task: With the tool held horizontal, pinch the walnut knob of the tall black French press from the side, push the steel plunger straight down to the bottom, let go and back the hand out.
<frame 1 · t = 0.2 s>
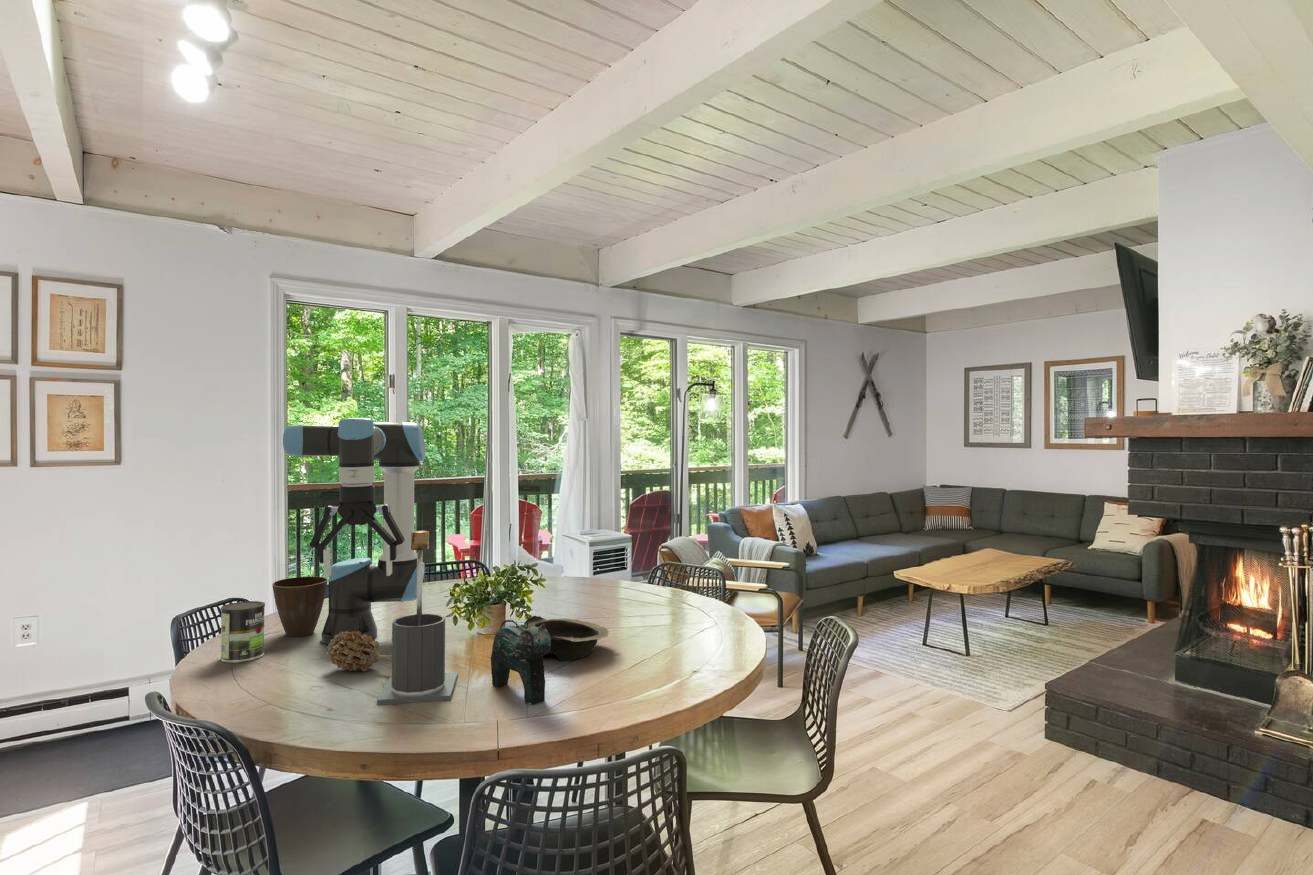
hand: (358, 575, 159), 28 cm above the table, tool pointing down, fingers open, 13 cm apart
press: (418, 691, 162), on the table
coffee can: (242, 657, 186), on the table
pine cone: (368, 671, 176), on the table
stone bowl: (565, 653, 193), on the table
plunger: (419, 587, 162), point 25 cm above the table, slide at 9.0 cm
dark animal figurine: (517, 694, 162), on the table
plant pot: (299, 634, 209), on the table
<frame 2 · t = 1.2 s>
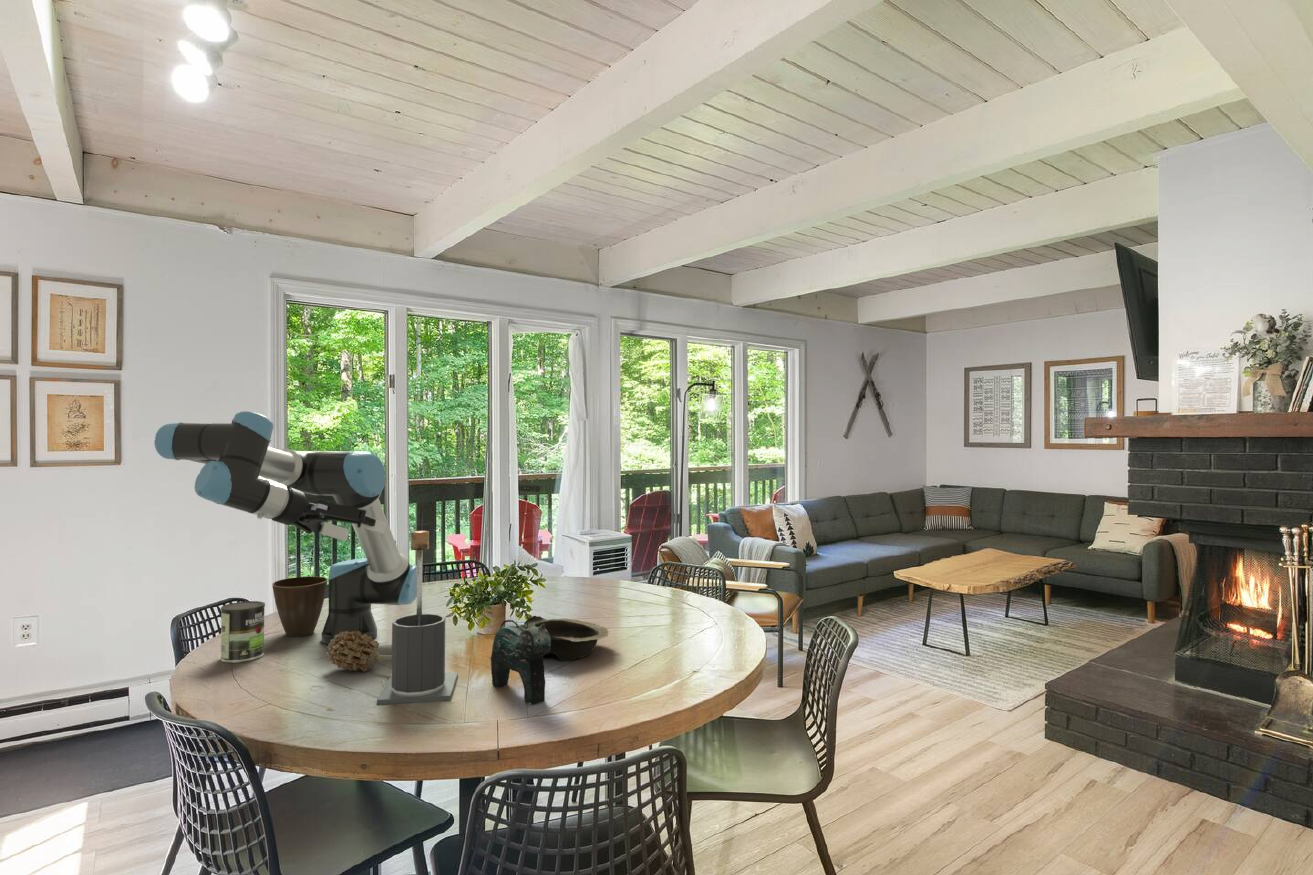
hand: (365, 531, 159), 38 cm above the table, tool tilted 65°, fingers open, 13 cm apart
nothing on the table moved.
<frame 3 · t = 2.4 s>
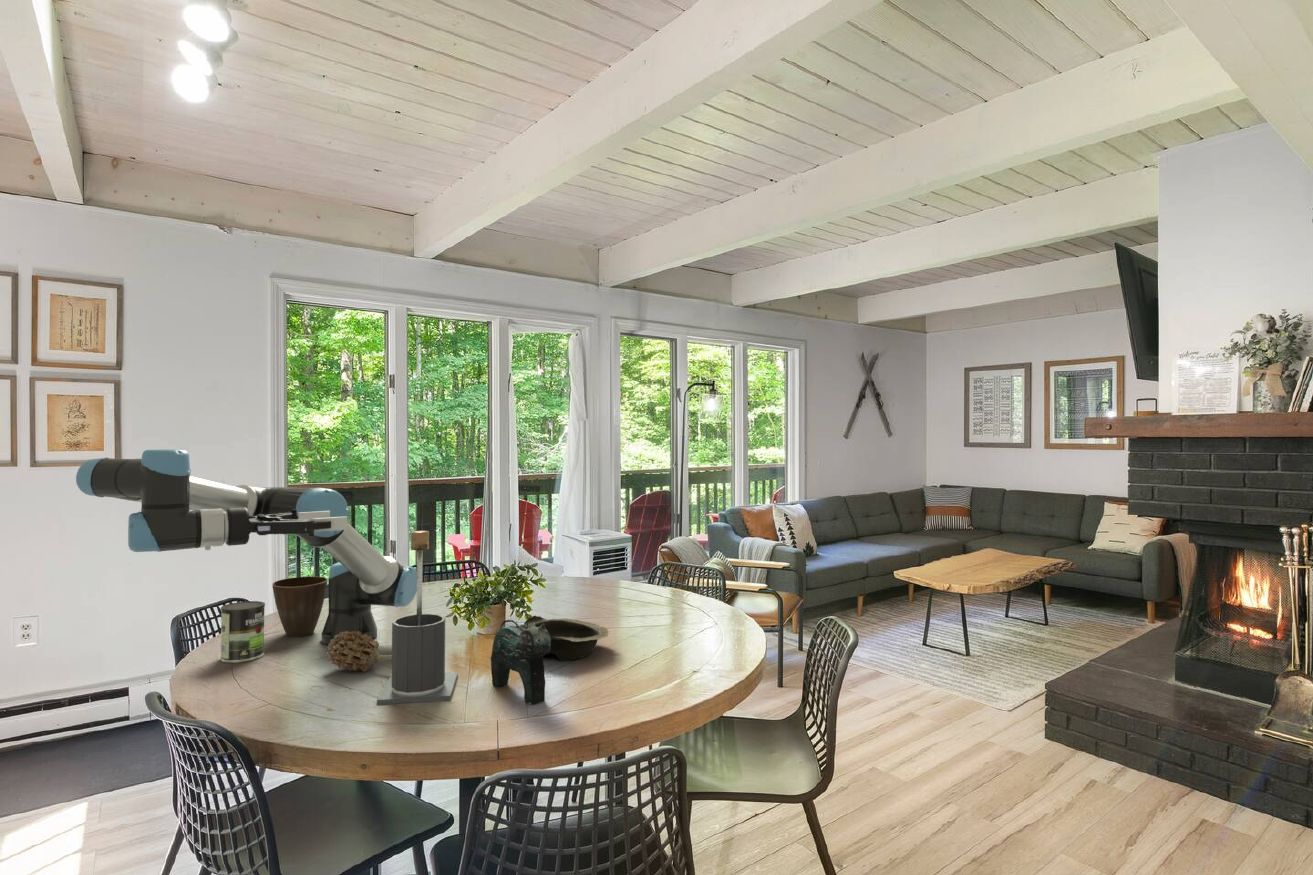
hand: (337, 519, 151), 42 cm above the table, tool horizontal, fingers open, 13 cm apart
nothing on the table moved.
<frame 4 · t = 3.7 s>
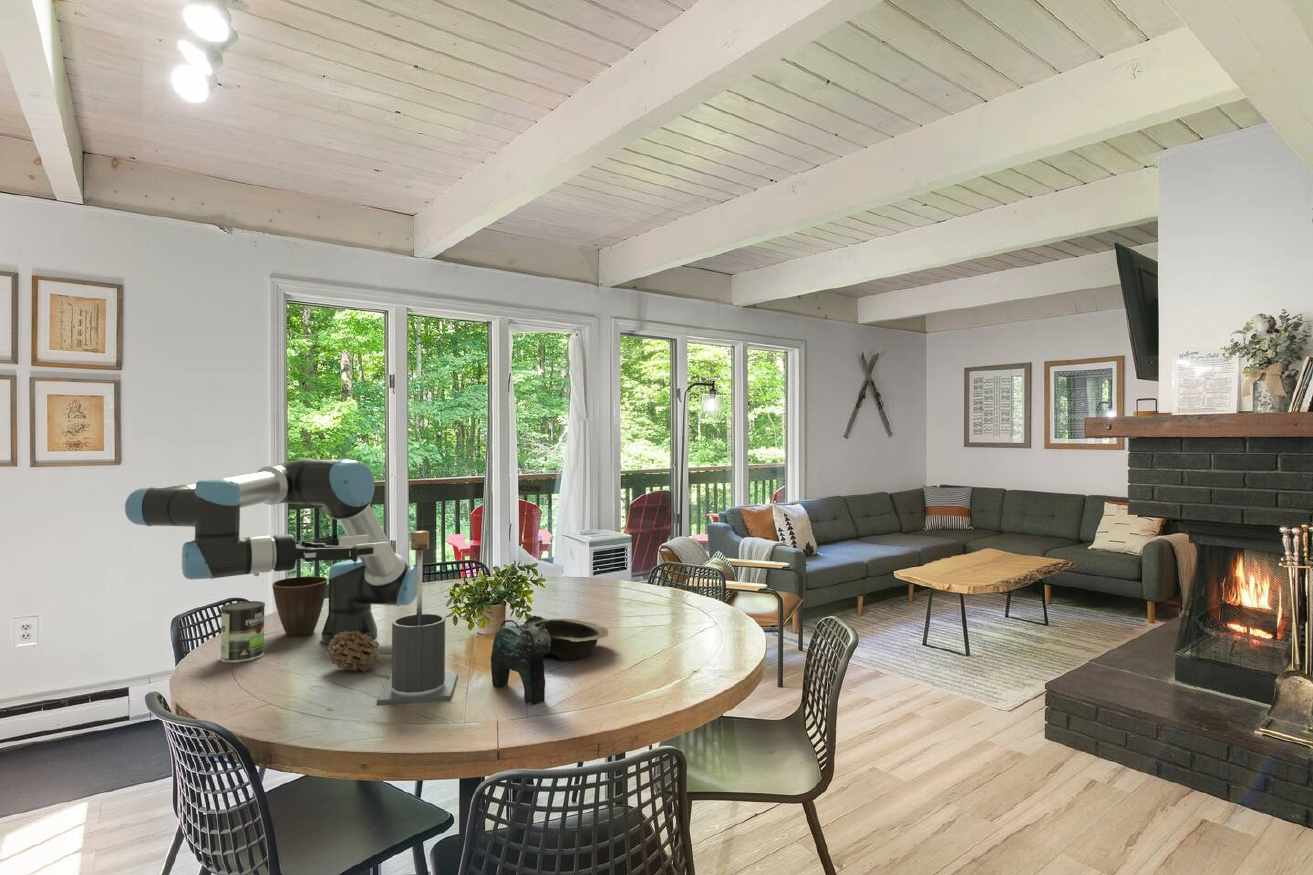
hand: (377, 544, 156), 36 cm above the table, tool horizontal, fingers open, 13 cm apart
nothing on the table moved.
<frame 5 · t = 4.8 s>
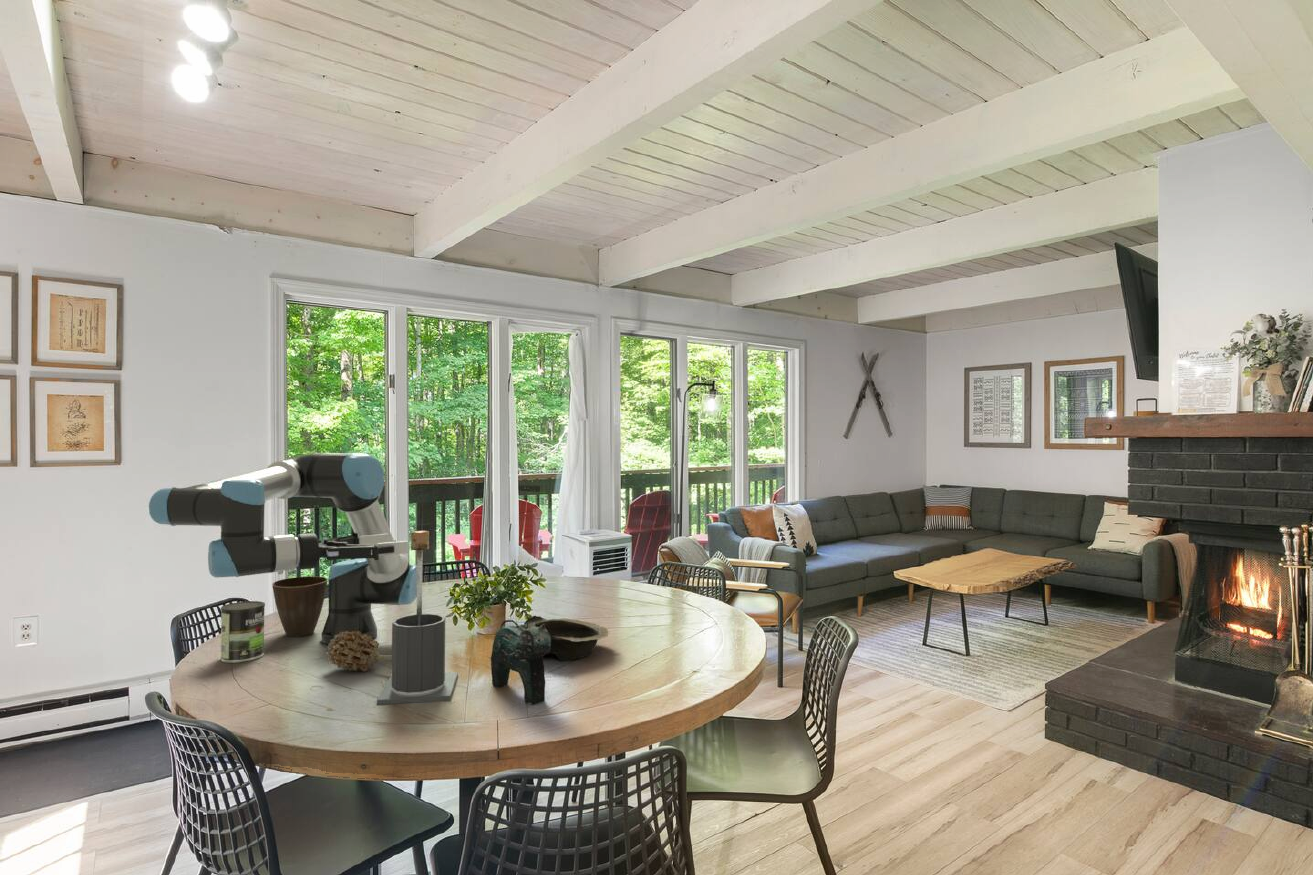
hand: (397, 543, 158), 36 cm above the table, tool horizontal, fingers open, 13 cm apart
nothing on the table moved.
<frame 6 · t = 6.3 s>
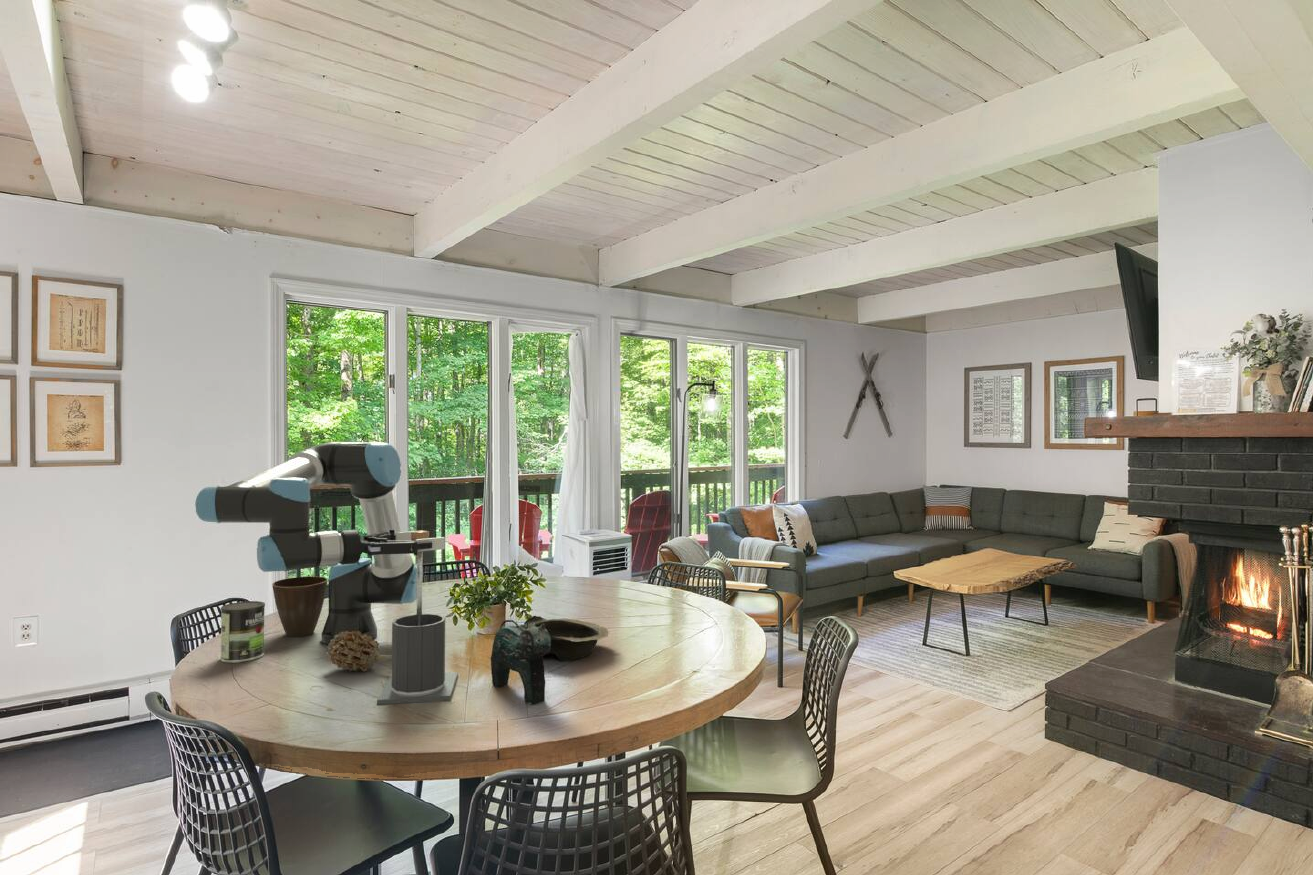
hand: (433, 539, 164), 36 cm above the table, tool horizontal, fingers open, 13 cm apart
nothing on the table moved.
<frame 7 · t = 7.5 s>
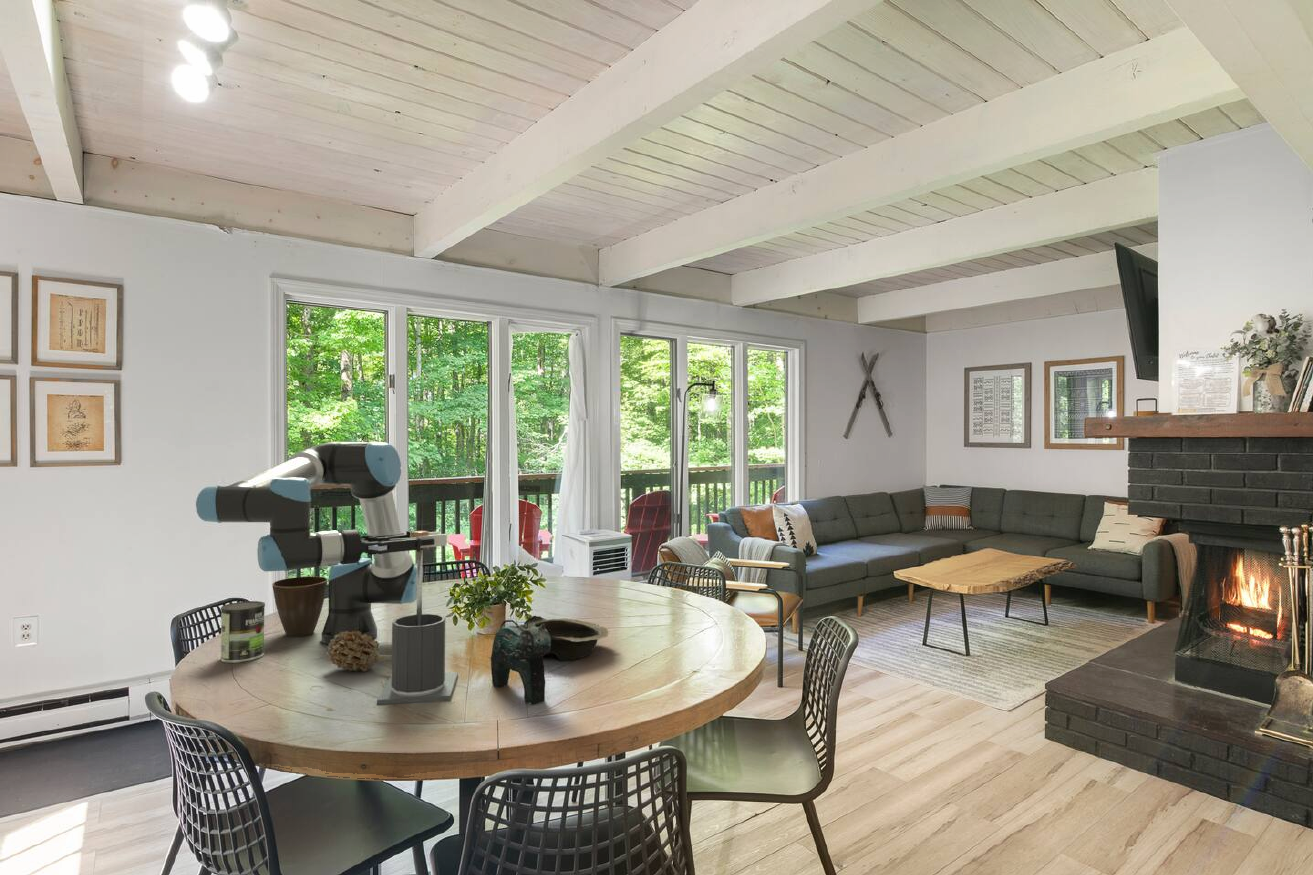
hand: (441, 538, 166), 36 cm above the table, tool horizontal, fingers closed on plunger, 4 cm apart
plunger: (419, 588, 162), point 25 cm above the table, slide at 9.0 cm, touching gripper
everything else where it was.
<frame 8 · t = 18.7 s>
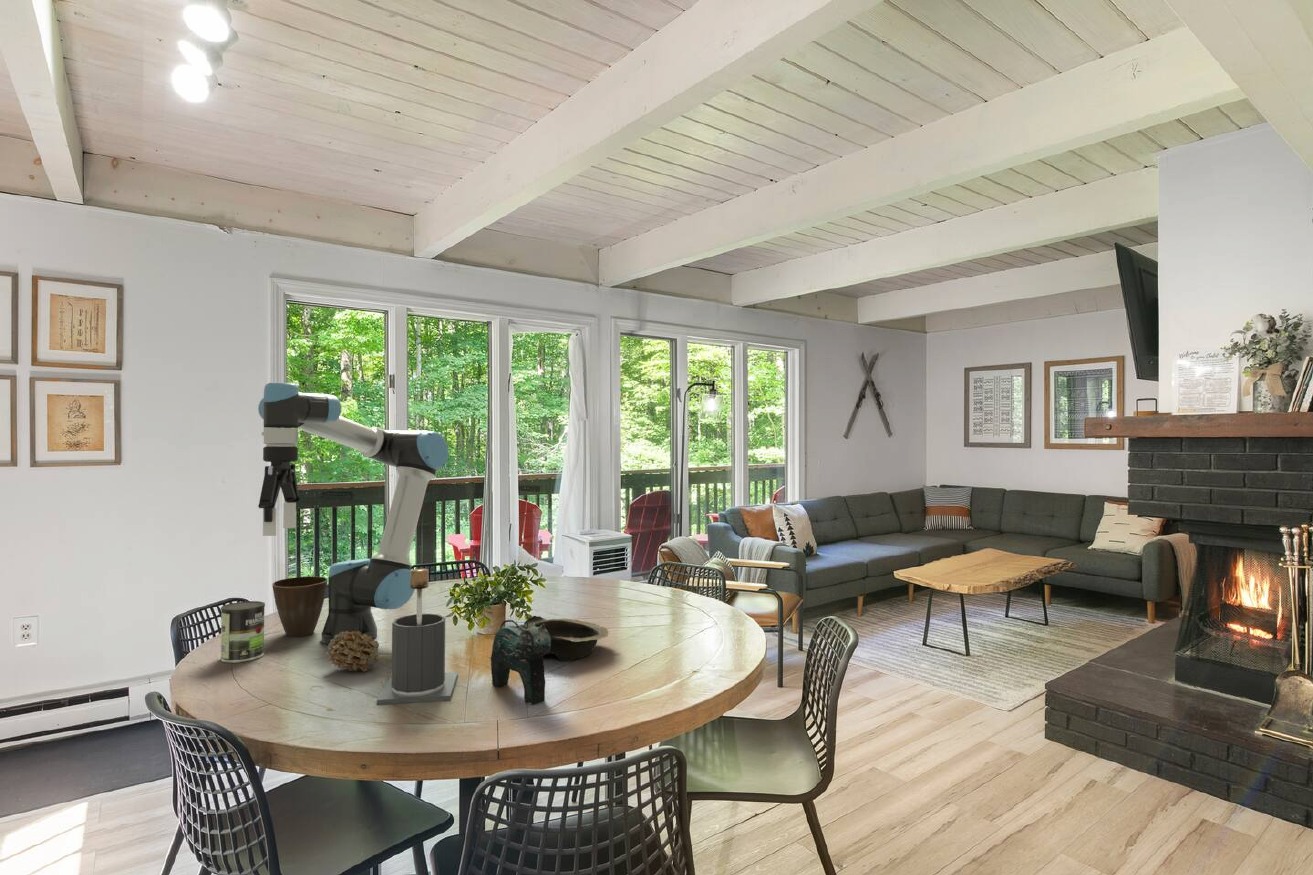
hand: (279, 531, 169), 37 cm above the table, tool pointing down, fingers open, 13 cm apart
plunger: (419, 626, 162), point 15 cm above the table, slide at -0.1 cm
everything else where it was.
at the end: plunger slide at -0.1 cm; the gripper is holding nothing; dark animal figurine moved 0.3 cm from its start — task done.
